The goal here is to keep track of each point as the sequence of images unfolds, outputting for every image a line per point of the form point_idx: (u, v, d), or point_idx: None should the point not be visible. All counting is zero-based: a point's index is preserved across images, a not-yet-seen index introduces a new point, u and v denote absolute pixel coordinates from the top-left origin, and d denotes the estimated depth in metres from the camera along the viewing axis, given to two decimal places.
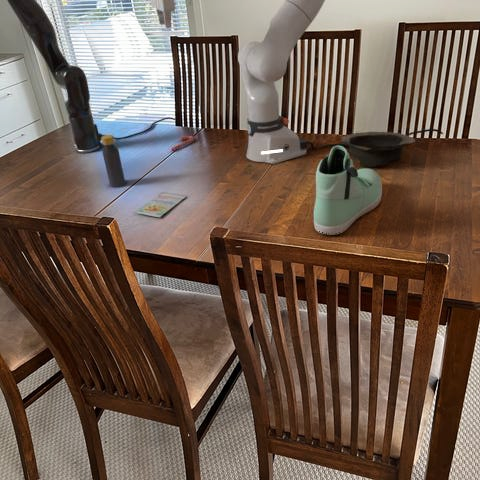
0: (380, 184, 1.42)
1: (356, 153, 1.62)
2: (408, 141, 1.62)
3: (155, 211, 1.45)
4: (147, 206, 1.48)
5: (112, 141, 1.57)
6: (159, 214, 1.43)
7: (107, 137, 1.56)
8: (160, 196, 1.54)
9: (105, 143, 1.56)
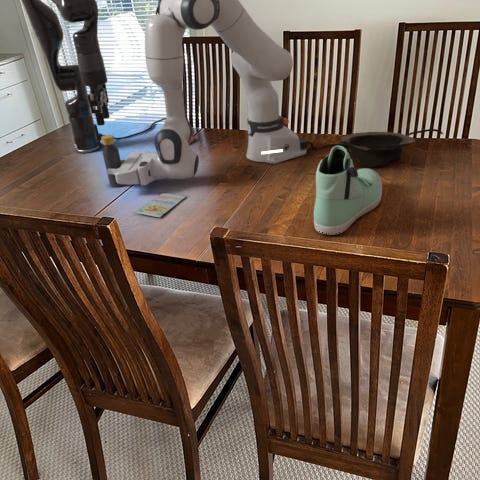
0: (380, 184, 1.42)
1: (356, 153, 1.62)
2: (408, 141, 1.62)
3: (155, 211, 1.45)
4: (147, 206, 1.48)
5: (112, 141, 1.57)
6: (159, 214, 1.43)
7: (107, 137, 1.56)
8: (160, 196, 1.54)
9: (105, 143, 1.56)
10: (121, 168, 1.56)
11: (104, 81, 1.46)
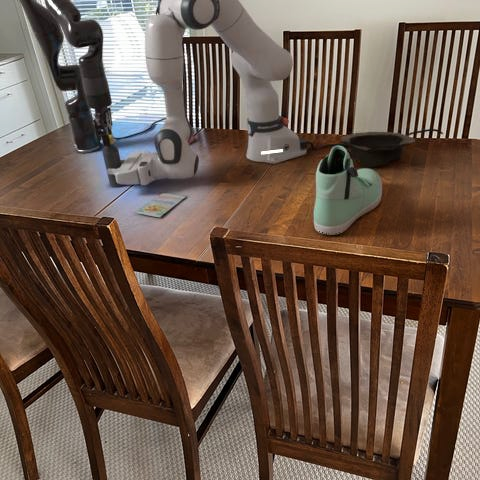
0: (380, 184, 1.42)
1: (356, 153, 1.62)
2: (408, 141, 1.62)
3: (155, 211, 1.45)
4: (147, 206, 1.48)
5: (112, 141, 1.57)
6: (159, 214, 1.43)
7: None
8: (160, 196, 1.54)
9: None
10: (121, 168, 1.56)
11: (109, 103, 1.50)
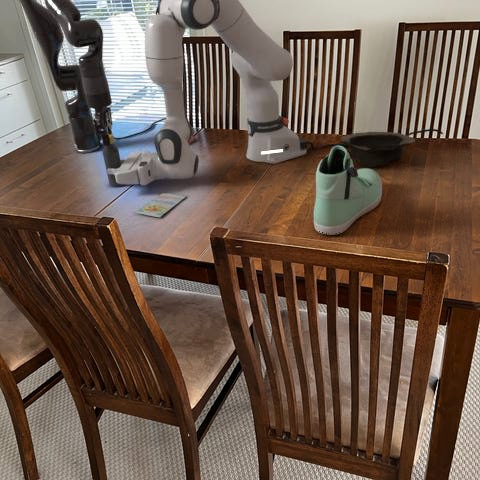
0: (380, 184, 1.42)
1: (356, 153, 1.62)
2: (408, 141, 1.62)
3: (155, 211, 1.45)
4: (147, 206, 1.48)
5: None
6: (159, 214, 1.43)
7: (109, 135, 1.57)
8: (160, 196, 1.54)
9: (113, 140, 1.57)
10: (121, 168, 1.56)
11: (109, 103, 1.50)
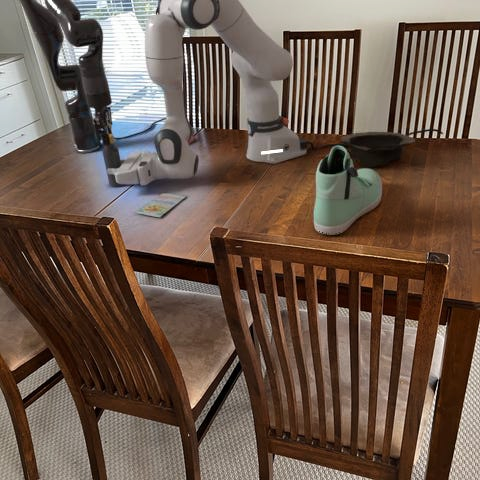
0: (380, 184, 1.42)
1: (356, 153, 1.62)
2: (408, 141, 1.62)
3: (155, 211, 1.45)
4: (147, 206, 1.48)
5: None
6: (159, 214, 1.43)
7: None
8: (160, 196, 1.54)
9: None
10: (121, 168, 1.56)
11: (109, 103, 1.49)
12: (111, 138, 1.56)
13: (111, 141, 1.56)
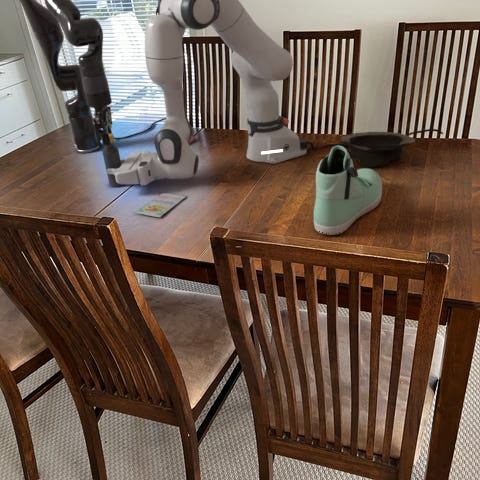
0: (380, 184, 1.42)
1: (356, 153, 1.62)
2: (408, 141, 1.62)
3: (155, 211, 1.45)
4: (147, 206, 1.48)
5: None
6: (159, 214, 1.43)
7: None
8: (160, 196, 1.54)
9: (102, 141, 1.57)
10: (121, 168, 1.56)
11: (109, 102, 1.49)
12: None
13: None
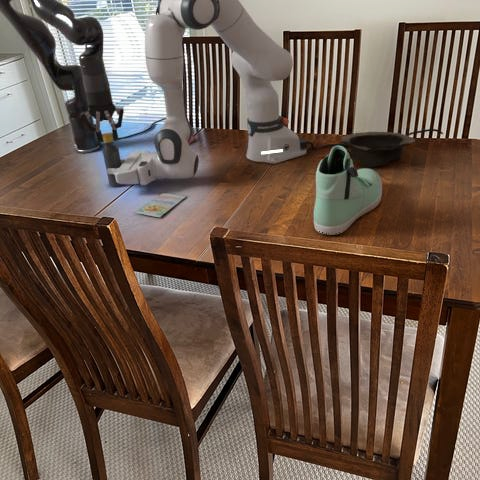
0: (380, 184, 1.42)
1: (356, 153, 1.62)
2: (408, 141, 1.62)
3: (155, 211, 1.45)
4: (147, 206, 1.48)
5: None
6: (159, 214, 1.43)
7: (109, 134, 1.56)
8: (160, 196, 1.54)
9: (109, 140, 1.56)
10: (121, 168, 1.56)
11: None
12: None
13: None
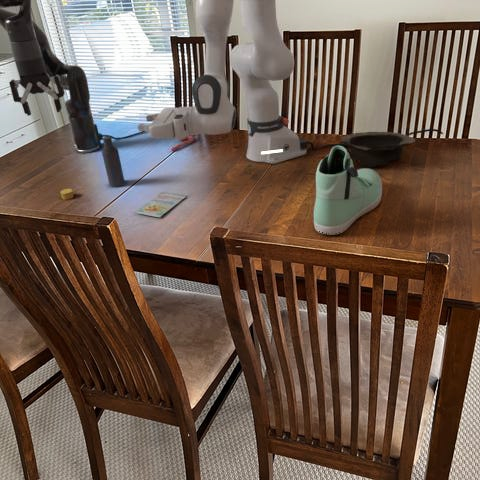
0: (380, 184, 1.42)
1: (356, 153, 1.62)
2: (408, 141, 1.62)
3: (155, 211, 1.45)
4: (147, 206, 1.48)
5: (73, 194, 1.59)
6: (159, 214, 1.43)
7: (68, 191, 1.58)
8: (160, 196, 1.54)
9: (68, 197, 1.58)
10: (155, 122, 1.46)
11: None
12: None
13: None
